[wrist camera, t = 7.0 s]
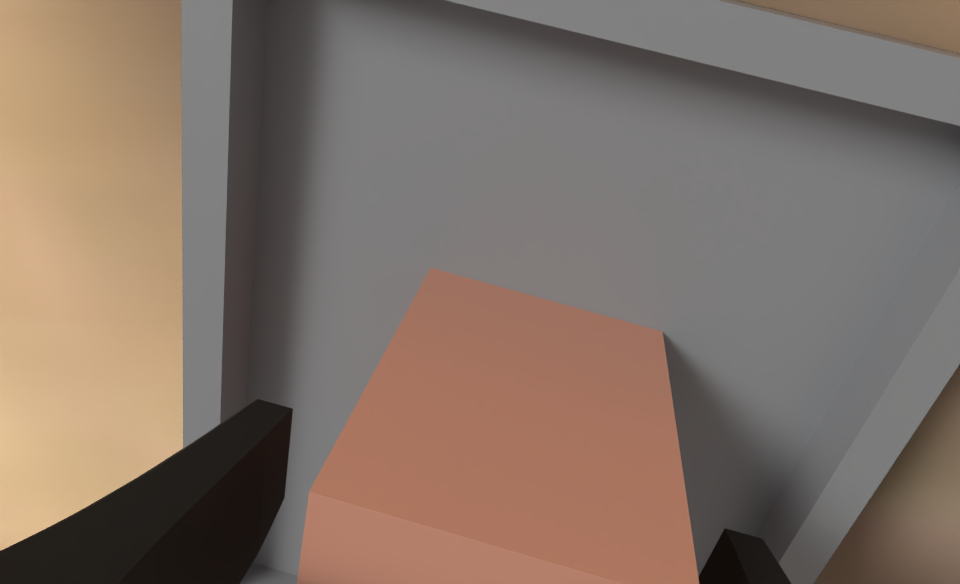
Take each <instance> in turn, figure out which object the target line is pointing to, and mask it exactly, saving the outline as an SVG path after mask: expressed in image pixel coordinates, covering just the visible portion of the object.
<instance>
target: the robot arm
mask: <svg viewBox="0 0 960 584" xmlns="http://www.w3.org/2000/svg"><path fill="white" fill-rule="evenodd" d="M292 414H293V408H289V407H285V406H282V405H278V404H274V403H271V402H267V401H264V400H260V399H257V400H255V401H253V402H251V403H250V404H248V405H247V406H245V407H244V408H242V409H241V410H239V411H238V412H236V413H235V414H234V415H232V416H231V417H229V418H228V419H226V420H225V421H223V422H222V423H220V424H219V425H218V426H216V427H215V428H213V429H212V430H210V431H209V432H207V433H206V434H204V435H203V436H201V437H200V438H198V439H197V440H195V441H194V442H192V443H191V444H189V445H188V446H186V447H185V448H183V449H182V450H180V451H179V452H177V453H175V454H174V455H172V456H171V457H169V458H168V459H166V460H165V461H163V462H161V463H160V464H158V465H157V466H155V467H154V468H152V469H150V470H149V471H147V472H146V473H144V474H142V475H141V476H139V477H138V478H136V479H134V480H133V481H131V482H129V483H127V484H126V485H124V486H122V487H120V488H119V489H117V490H115V491H114V492H112V493H110V494H108V495H107V496H105V497H103V498H101V499H100V500H98V501H96V502H95V503H93V504H91V505H89V506H88V507H86V508H84V509H82V510H80V511H79V512H77V513H75V514H73V515H71V516H69V517H67V518H65V519H64V520H62V521H60V522H58V523H56V524H54V525H52V526H50V527H48V528H46V529H44V530H42V531H40V532H38V533H36V534H34V535H32V536H30V537H28V538H26V539H24V540H22V541H20V542H18V543H16V544H14V545H12V546H10V547H8V548H6V549H3V550H1V551H0V584H240V582H241V581H242V579H243V577H244V576H245V574H246V573H247V571H248V569H249V568H250V566H251V565H252V563H253V561H254V560H255V558H256V556H257V555H258V553H259V551H260V549H261V547H262V545H263V543H264V540H265V538H266V536H267V534H268V532H269V530H270V528H271V526H272V524H273V522H274V520H275V517H276V515H277V513H278V511H279V509H280V507H281V505H282V502H283V500H284V498H285V488H286V477H287V466H288V456H289V445H290V435H291V424H292ZM698 578H699V584H791V582H790V581H789V579H788V577H787V576H786V574H785V573H784V571H783V569H782V568H781V566H780V565H779V563H778V562H777V560H776V558H775V557H774V555H773V554H772V552H771V551H770V549H769V548H768V546H767V545H766V543H765V542H764V540H763V539H762V538H758V537H755V536H751V535H747V534H744V533H740V532H737V531H733V530H729V529H726V528H725V529H724V530H723V532H722V534H721V536H720V538H719V540H718V542H717V543H716V545H715V547H714V549H713V551H712V553H711V554H710V556H709V558H708V560H707V562H706V564H705V566H704V567H703V569H702V571H701V573H700V575H699V577H698Z"/></svg>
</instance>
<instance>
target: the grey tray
mask: <svg viewBox="0 0 960 584" xmlns="http://www.w3.org/2000/svg"><path fill="white" fill-rule="evenodd" d="M182 242H183V448H185V447H186V446H188V445H189V444H191V443H192V442H194V441H195V440H197V439H198V438H200V437H201V436H203V435H204V434H206V433H207V432H209V431H210V430H212V429H213V428H215V427H216V426H218V425H219V424H220V423H222V422H223V421H225V420H226V419H228V418H229V417H231V416H232V415H234V414H235V413H236V412H238V411H239V410H241V409H242V408H244V407H245V406H247V405H248V404H250V403H251V402H253V401H255V400H257V399H260V400H264V401H267V402H271V403H274V404H278V405H282V406H285V407H289V408H293V414H292V424H291V435H290V445H289V456H288V466H287V477H286V488H285V498H284V500H283V502H282V505H281V507H280V509H279V511H278V513H277V515H276V517H275V520H274V522H273V524H272V526H271V528H270V530H269V532H268V534H267V536H266V538H265V540H264V543H263V545H262V547H261V549H260V551H259V553H258V555H257V556H256V558H255V560H254V561H253V563H252V565H251V566H250V568H249V569H248V571H247V573H246V574H245V576H244V577H243V579H242V581H241V582H240V584H297V578H298V570H299V563H300V555H301V548H302V541H303V533H304V526H305V518H306V511H307V503H308V496H309V491H310V489H311V487H312V485H313V483H314V482H315V480H316V478H317V476H318V474H319V472H320V470H321V469H322V467H323V465H324V463H325V461H326V459H327V458H328V456H329V454H330V452H331V450H332V448H333V447H334V445H335V443H336V441H337V439H338V437H339V435H340V434H341V432H342V430H343V428H344V426H345V424H346V423H347V421H348V419H349V417H350V415H351V413H352V412H353V410H354V408H355V406H356V404H357V402H358V401H359V399H360V397H361V395H362V393H363V391H364V389H365V388H366V386H367V384H368V382H369V380H370V378H371V377H372V375H373V373H374V371H375V369H376V367H377V366H378V364H379V362H380V360H381V358H382V356H383V354H384V353H385V351H386V349H387V347H388V345H389V343H390V342H391V340H392V338H393V336H394V334H395V332H396V331H397V329H398V327H399V325H400V323H401V321H402V319H403V318H404V316H405V314H406V312H407V310H408V308H409V307H410V305H411V303H412V301H413V299H414V297H415V296H416V294H417V292H418V290H419V288H420V286H421V285H422V283H423V281H424V279H425V277H426V275H427V273H428V272H429V270H430V268H434V269H437V270H441V271H445V272H448V273H452V274H455V275H459V276H463V277H466V278H470V279H474V280H477V281H481V282H484V283H488V284H492V285H495V286H499V287H503V288H506V289H510V290H513V291H517V292H521V293H524V294H528V295H532V296H535V297H539V298H542V299H546V300H550V301H553V302H557V303H561V304H564V305H568V306H571V307H575V308H579V309H582V310H586V311H590V312H593V313H597V314H601V315H604V316H608V317H611V318H615V319H619V320H622V321H626V322H630V323H633V324H637V325H640V326H644V327H648V328H651V329H655V330H659V331H662V332H663V338H664V345H665V352H666V359H667V366H668V372H669V379H670V386H671V393H672V400H673V407H674V414H675V421H676V427H677V434H678V441H679V448H680V455H681V462H682V469H683V475H684V482H685V489H686V496H687V503H688V510H689V517H690V523H691V530H692V537H693V544H694V551H695V558H696V565H697V571H698V577H699V575H700V573H701V571H702V569H703V567H704V566H705V564H706V562H707V560H708V558H709V556H710V554H711V553H712V551H713V549H714V547H715V545H716V543H717V542H718V540H719V538H720V536H721V534H722V532H723V530H724V529H725V528H726V529H729V530H733V531H737V532H740V533H744V534H747V535H751V536H755V537H758V538H762V539H763V540H764V542H765V543H766V545H767V546H768V548H769V549H770V551H771V552H772V554H773V555H774V557H775V558H776V560H777V562H778V563H779V565H780V566H781V568H782V569H783V571H784V573H785V574H786V576H787V577H788V579H789V581H790V582H791V584H814V582H815V581H816V579H817V578H818V576H819V575H820V573H821V572H822V570H823V569H824V567H825V566H826V564H827V563H828V561H829V560H830V558H831V557H832V555H833V554H834V552H835V551H836V549H837V547H838V546H839V544H840V543H841V541H842V540H843V538H844V537H845V535H846V534H847V532H848V531H849V529H850V528H851V526H852V525H853V523H854V522H855V520H856V519H857V517H858V516H859V514H860V513H861V511H862V510H863V508H864V507H865V505H866V504H867V502H868V501H869V499H870V498H871V496H872V495H873V493H874V492H875V490H876V489H877V487H878V486H879V484H880V483H881V481H882V480H883V478H884V477H885V475H886V474H887V472H888V471H889V469H890V468H891V466H892V465H893V463H894V462H895V460H896V459H897V457H898V456H899V454H900V453H901V451H902V450H903V448H904V447H905V445H906V444H907V442H908V441H909V439H910V438H911V436H912V435H913V433H914V432H915V430H916V429H917V427H918V426H919V424H920V423H921V421H922V420H923V418H924V417H925V415H926V414H927V412H928V411H929V409H930V408H931V406H932V405H933V403H934V402H935V400H936V399H937V397H938V396H939V394H940V393H941V391H942V390H943V388H944V387H945V385H946V384H947V382H948V381H949V379H950V378H951V376H952V375H953V373H954V372H955V370H956V369H957V367H958V366H959V364H960V54H959V53H954V52H950V51H946V50H942V49H938V48H933V47H929V46H925V45H921V44H917V43H913V42H908V41H904V40H900V39H896V38H892V37H887V36H883V35H879V34H875V33H871V32H867V31H862V30H858V29H854V28H850V27H846V26H841V25H837V24H833V23H829V22H825V21H821V20H816V19H812V18H808V17H804V16H800V15H796V14H791V13H787V12H783V11H779V10H775V9H770V8H766V7H762V6H758V5H754V4H750V3H745V2H741V1H737V0H182Z"/></svg>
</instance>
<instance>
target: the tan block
mask: <svg viewBox="0 0 960 584" xmlns="http://www.w3.org/2000/svg"><path fill="white" fill-rule="evenodd" d="M297 584H699V578H698V571H697V565H696V558H695V551H694V544H693V537H692V530H691V523H690V517H689V510H688V503H687V496H686V489H685V482H684V475H683V469H682V462H681V455H680V448H679V441H678V434H677V427H676V421H675V414H674V407H673V400H672V393H671V386H670V379H669V372H668V366H667V359H666V352H665V345H664V338H663V332H662V331H659V330H655V329H651V328H648V327H644V326H640V325H637V324H633V323H630V322H626V321H622V320H619V319H615V318H611V317H608V316H604V315H601V314H597V313H593V312H590V311H586V310H582V309H579V308H575V307H571V306H568V305H564V304H561V303H557V302H553V301H550V300H546V299H542V298H539V297H535V296H532V295H528V294H524V293H521V292H517V291H513V290H510V289H506V288H503V287H499V286H495V285H492V284H488V283H484V282H481V281H477V280H474V279H470V278H466V277H463V276H459V275H455V274H452V273H448V272H445V271H441V270H437V269H434V268H430V270H429V272H428V273H427V275H426V277H425V279H424V281H423V283H422V285H421V286H420V288H419V290H418V292H417V294H416V296H415V297H414V299H413V301H412V303H411V305H410V307H409V308H408V310H407V312H406V314H405V316H404V318H403V319H402V321H401V323H400V325H399V327H398V329H397V331H396V332H395V334H394V336H393V338H392V340H391V342H390V343H389V345H388V347H387V349H386V351H385V353H384V354H383V356H382V358H381V360H380V362H379V364H378V366H377V367H376V369H375V371H374V373H373V375H372V377H371V378H370V380H369V382H368V384H367V386H366V388H365V389H364V391H363V393H362V395H361V397H360V399H359V401H358V402H357V404H356V406H355V408H354V410H353V412H352V413H351V415H350V417H349V419H348V421H347V423H346V424H345V426H344V428H343V430H342V432H341V434H340V435H339V437H338V439H337V441H336V443H335V445H334V447H333V448H332V450H331V452H330V454H329V456H328V458H327V459H326V461H325V463H324V465H323V467H322V469H321V470H320V472H319V474H318V476H317V478H316V480H315V482H314V483H313V485H312V487H311V489H310V491H309V496H308V503H307V511H306V518H305V526H304V533H303V541H302V548H301V555H300V563H299V570H298V578H297Z"/></svg>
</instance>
